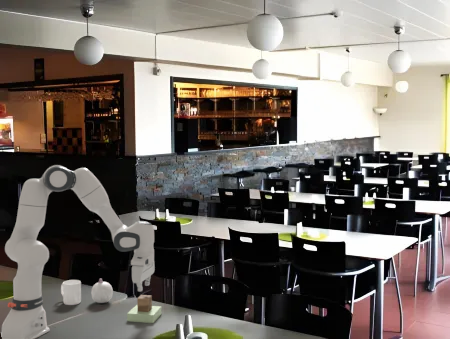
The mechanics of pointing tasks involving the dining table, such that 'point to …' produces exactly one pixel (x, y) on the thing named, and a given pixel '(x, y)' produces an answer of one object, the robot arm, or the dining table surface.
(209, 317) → the dining table surface
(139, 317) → the base box
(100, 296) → the ornament
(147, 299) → the walnut block
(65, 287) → the cup
